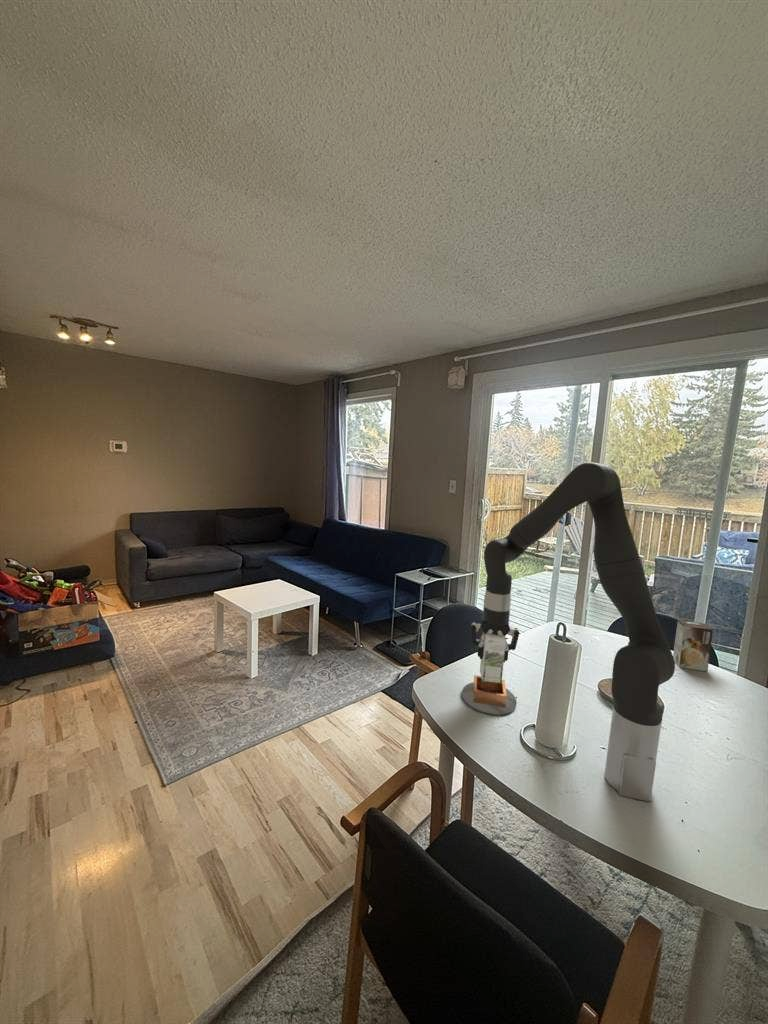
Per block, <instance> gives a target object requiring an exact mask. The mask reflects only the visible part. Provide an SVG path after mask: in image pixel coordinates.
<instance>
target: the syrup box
mask: <svg viewBox="0 0 768 1024" xmlns="http://www.w3.org/2000/svg"><path fill="white" fill-rule="evenodd" d="M483 633H484V632H483V631H482V634H483ZM485 634H486V633H485ZM485 634H484V636H485ZM506 641H507V638H506V636H504V637H501V636H499V635H495V634H491V635H488V634H486V636H485V642H484V645H483V654H482V659H480V666H479V673H480V676H481V678H482V681H483V682H491V683H502V680H503V672H504V664H505V663H504V653H505V643H506Z"/></svg>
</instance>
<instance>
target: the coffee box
mask: <svg viewBox="0 0 768 1024" xmlns="http://www.w3.org/2000/svg"><path fill="white" fill-rule="evenodd" d="M713 632H714V629H713V628H711V627H710V626H709V625H707V624H706V623H703V622H702V623H701V622H694V621H688V620H681V619H678V620H677V623H676V631H675V637H674V647H673V653H672V655H673V658H674V662H675V665H676V666H677V667H678V668H682V669H689V670H695V671H696V670H697V671H702V672H708V669H709V663H710V654H711V647H712V641H713V640H712V639H713Z"/></svg>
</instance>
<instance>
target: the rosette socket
mask: <svg viewBox="0 0 768 1024" xmlns="http://www.w3.org/2000/svg"><path fill="white" fill-rule="evenodd" d="M505 682H506V681H505V679H502V683H491V682H483V681H482V678H481V675H477V674H476V675H473V682H470V683H468V684H465V685H464V687H463V688H462V691H461V698H462V700H463V701H464V703H465V704H466V705H467V706H468V707H469V708H471V709H473V710H474V711H476V712H478V713H480V714H484V715H488V716H497V717H499V716H506V715H507V716H508V715H509V714H511V713H513V712H514V711H515V710H516V708H517V698H516V697H515V695H514V694H513V693H512V692H511V691H510V690H509V689H507V688H506V683H505Z"/></svg>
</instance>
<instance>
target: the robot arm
mask: <svg viewBox="0 0 768 1024" xmlns="http://www.w3.org/2000/svg"><path fill="white" fill-rule="evenodd" d="M569 472H570V473H568V474H567V475H566V476H565V478H563V480H562V481H561V482H560V483H559V484H558V485H557V487H556V488H555V489H554V490H553V491H552V492H551V493H550V494H549V495H548V496H547V497H546V498H545V499H544V500H543V501H542V502H541V503H540V504H539V505H538V506H537V507H535V508H534V509H533V510H532V511H530V512H529V513H528V514H527V515H525V516H524V517H523V518H521V519H520V520H519V521H518V522H517V523H515V525H513V526H512V527H511V528H510V530H509V534H507V536H505V537H503V538H500V539H499V538H498V539H492V540H490V541H488V542H487V543H486V546H485V548H484V551H483V559H484V560H483V561H484V566H485V567H484V568H485V571H486V576H487V577H486V585H485V593H484V598H483V609H482V610H483V611H482V620H481V622H480V623H476V622H475V621H473V622H471V627H470V628H471V638H472V644H473V645H475V646H477V657H479V660H481V659H482V654H483V645H484V642H485V636H486V634H488V635H491V634H495V635H499V636H501V637H504V636H505V637H506V636H507V635H508V634H509V633H510V635H511V637H512V638H511V641H510V643H508V641H507V640H506V643H505V653H504V663H503V664H505V663H506V662H507V661H508V658H509V651H511V650H512V651H515V650H516V648H517V645H518V640H519V635H520V630H519V628H518V627H515V628H513V627H510V614H511V613H510V612H511V604H512V596H511V595H512V594H511V593H512V581H513V580H512V579H513V578H512V574H511V573H510V572H509V571H507V570H506V569H507V567H506V564H507V563H510V562H513V561H515V560H516V559H518V558H519V557H521V556H522V555H523V553H525V552H526V550H527V549H528V548H529V547H531V546H532V545H534V544H535V543H536V542H538V541H539V540H541V539H543V537H545V536H546V535H547V534H548V533H549V532H550V531H551V530H552V529H553V528H554V527H555V526H556V525H557V523H558V522H559V521H560V520H561V518H562V517H564V515H566V514H567V513H568V512H570V511H571V510H572V509H574V508H576V507H578V506H580V505H582V504H584V503H586V502H587V503H588V505H589V508H590V512H591V515H592V519H593V521H594V543H593V558H594V559H593V560H594V563H595V568H596V572H597V576H598V579H599V582H600V585H601V587H602V589H603V591H604V592H605V594H606V596H607V597H608V598H609V600H610V601H611V602H612V604H613V605H614V606H615V608H616V609H617V611H618V613H619V614H620V615H621V617H622V620H623V622H624V625H625V628H626V632H627V636H628V642H630V645H628V644H627V645H625V646H623V647H621V648H619V649H618V650H617V652H616V653H615V655H614V659H613V665H612V677H611V688H610V689H611V695H612V699H613V704H612V705H613V706H612V713H611V721H610V726H609V727H610V728H609V729H610V730H609V737H608V743H607V751H606V761H605V766H604V767H605V768H604V778H605V780H606V782H607V783H608V784H609V785H610V786H611V788H613V789H614V790H615V791H617V793H618V795H619V796H620V797H625V798H631V799H635V800H640V801H646V802H652V801H651V800H652V793H653V785H654V779H655V772H656V767H657V766H656V765H657V755H658V751H659V741H660V736H661V735H660V734H661V730H662V729H661V728H662V722H663V714H664V711H663V708H662V705H661V704H660V703H659V702H658V694H659V686H661V685H662V684H664V683H666V682H668V681H669V680H671V678H672V677H673V676H674V674H675V671H676V663H675V662H674V658H673V653H672V650H671V647H670V645H669V642H668V641H667V639H666V636H665V633H664V631H663V629H662V626H661V623H660V622H659V621H660V620H659V618H658V616H657V613H656V609H655V606H654V603H653V599H652V595H651V591H650V587H649V586H648V582H647V578H646V575H645V574H646V573H645V571H644V566H643V564H642V560H641V558H640V557H641V556H640V554H639V550H638V549H637V545H636V542H635V538H634V536H633V535H634V534H633V532H632V529H631V527H630V524H629V521H628V517H627V514H626V513H627V512H626V509H625V502H624V498H623V491H622V484H621V480H620V477H619V474H618V473H617V471H616V470H615V469H614V468H613V467H611V466H610V465H607V464H603V463H599V462H592V461H590V462H584V463H580V464H579V465H576V466H575V468H573V469H572V470H571V471H569ZM479 629H481V631H482V635H481V637H480V638H479V639H478V637H477V632H479ZM483 632H484V633H483ZM485 633H486V634H485ZM484 634H485V636H484Z"/></svg>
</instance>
